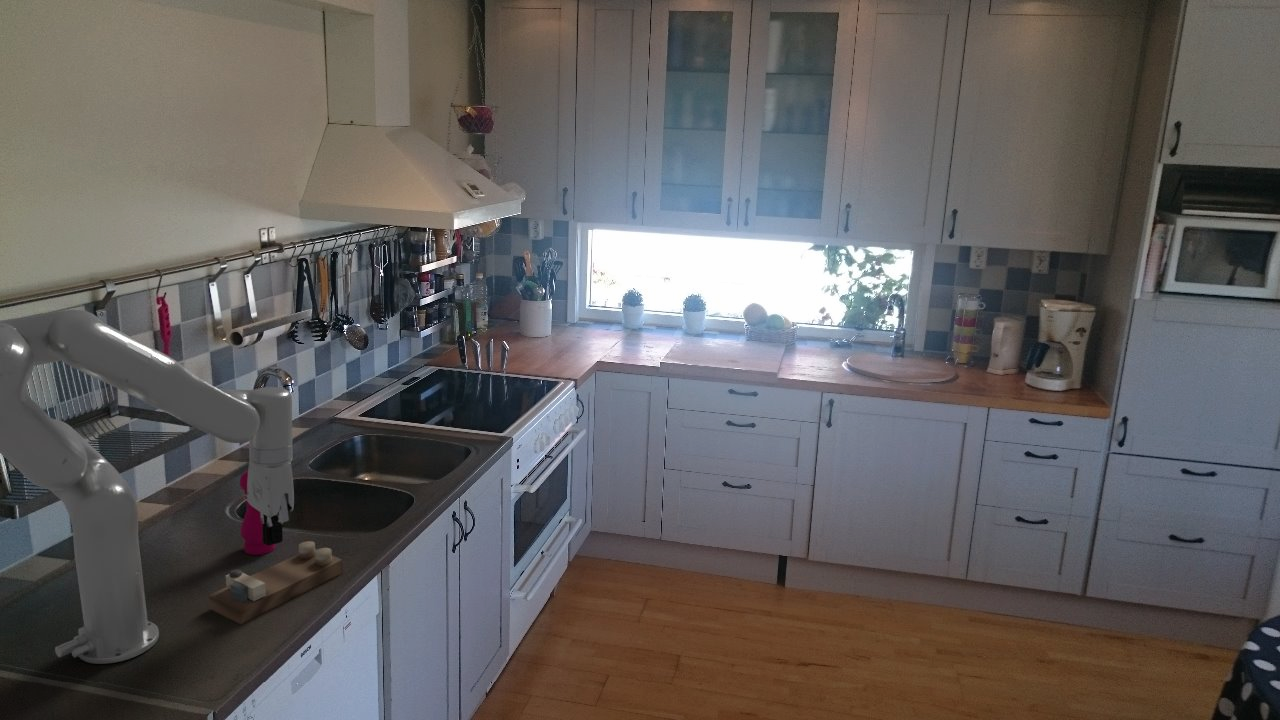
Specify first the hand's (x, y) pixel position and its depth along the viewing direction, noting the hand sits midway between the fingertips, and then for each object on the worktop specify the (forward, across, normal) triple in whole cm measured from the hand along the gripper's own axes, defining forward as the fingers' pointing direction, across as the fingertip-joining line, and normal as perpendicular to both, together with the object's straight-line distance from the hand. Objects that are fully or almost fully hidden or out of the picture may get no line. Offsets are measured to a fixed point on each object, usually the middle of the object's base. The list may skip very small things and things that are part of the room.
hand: (272, 542), depth 173 cm
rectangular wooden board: (+12, -2, +2) cm, 12 cm away
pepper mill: (+12, -21, +8) cm, 26 cm away
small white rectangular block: (+9, 0, -5) cm, 10 cm away
